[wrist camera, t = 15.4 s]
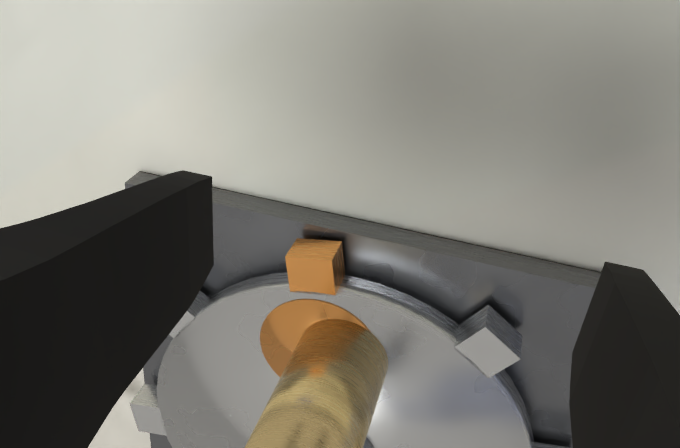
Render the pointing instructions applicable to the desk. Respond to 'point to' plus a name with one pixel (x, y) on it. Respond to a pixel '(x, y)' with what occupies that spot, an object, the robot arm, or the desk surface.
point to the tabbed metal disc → (346, 304)
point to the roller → (325, 390)
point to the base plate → (417, 287)
